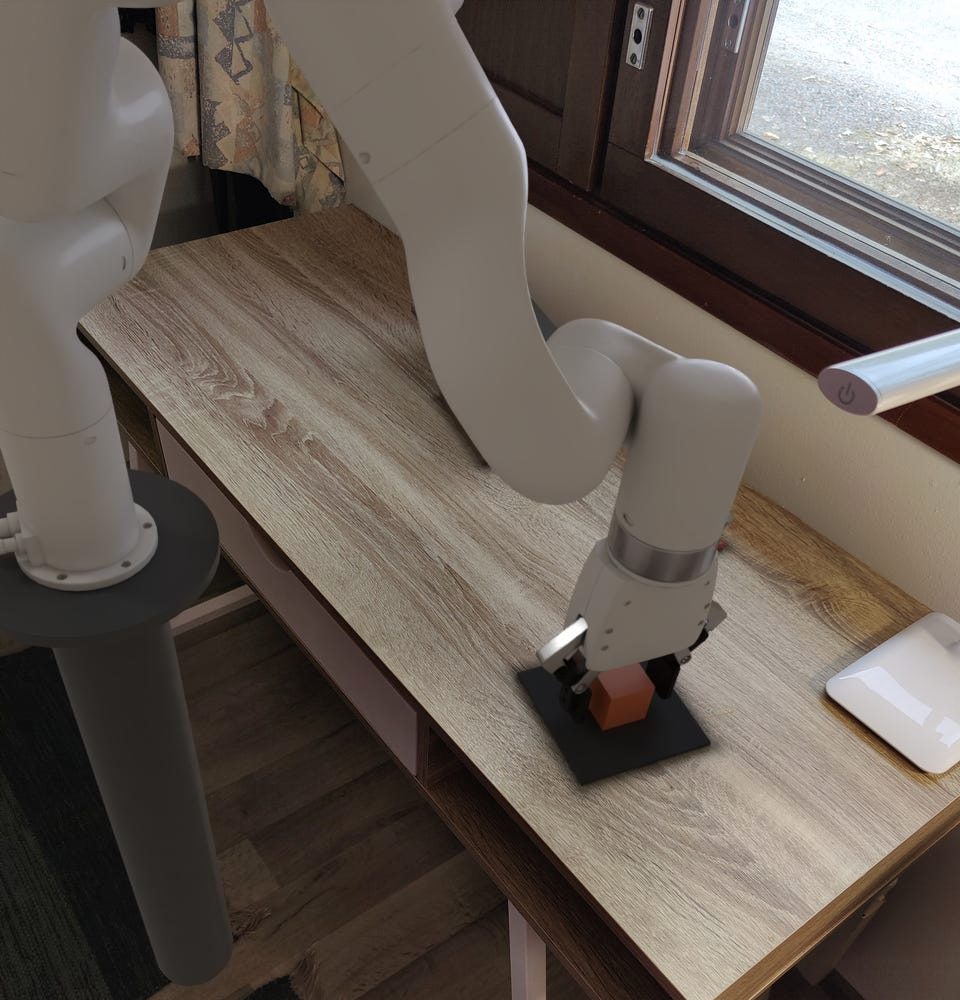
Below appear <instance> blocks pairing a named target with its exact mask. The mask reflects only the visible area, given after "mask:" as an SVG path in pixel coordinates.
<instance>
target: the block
mask: <svg viewBox="0 0 960 1000" xmlns="http://www.w3.org/2000/svg"><path fill="white" fill-rule="evenodd" d="M589 687H590V689H591V691H592V697H591V701H590V705H589V709H590V711H591V712H592V714H593V716H594V717H595V719H596V720H597V722H598V724H599V725H600V727H601V729H602V730H606V729H610V728H613V727H617V726H620V725H623V724H627V723H630V722H634V721H637V720H640V719H644V718H645V716H646V713H647V710H648V707H649V704H650V701H651V698H652V696H653V693H654V690H655V686H654V685H653V683H652V682H651V680H650V679H649V677H648V676H647V674H646V673H645V671H644V670H643V668H642V667H641V666H640V664H639V663H635V664H632V665H628V666H624V667H620V668H616V669H612V670H608V671H602V672H601V673H600V674H599V675H598V677H597V678H596V679H595V680H594V681H593V682H592V684H591V685H590V686H589Z"/></svg>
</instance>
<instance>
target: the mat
mask: <svg viewBox="0 0 960 1000" xmlns="http://www.w3.org/2000/svg"><path fill="white" fill-rule="evenodd" d="M648 661H649V660H646V661H643V662H639V664H640V666H641V667H642V668H643V670H644V671H645V670H646V667H647V664H648ZM585 664H586V660H585V659H584V657H583V658H582V660H581V661H580V662H579V663H578V665H577V666H579V668H580V669H581V671H583V670H584V669H585V668H586V666H585ZM516 676H517V677H518V680H519V681H520V683H521V684H522V686H523V688H524V690H525V691H526V693H527V695H528V697H529V698H530V700H531V702H532V704H533V705H534V707H535V709H536V711H537V712H538V714H539V716H540V718H541V719H542V721H543V723H544V724H545V726H546V728H547V730H548V732H549V733H550V735H551V737H552V739H553V740H554V742H555V743H556V745H557V748H558V749H559V751H560V753H561V754H562V756H563V758H564V759H565V761H566V763H567V765H568V767H569V768H570V770H571V772H572V774H573V775H574V777H575V779H576V780H577V782H578V784H579V786H585V785H587V784H591V783H595V782H597V781H600V780H604V779H607V778H610V777H613V776H616V775H620V774H623V773H626V772H629V771H633V770H636V769H639V768H642V767H645V766H648V765H652V764H655V763H659V762H661V761H665V760H667V759H671V758H674V757H677V756H680V755H683V754H687V753H689V752H693V751H697V750H700V749H702V748H706V747H709V746H711V745H712V742H711V739H709V737H708V736H707V734H706V733H705V731H704V730H703V728H702V727H701V725H699V723H698V721H697V720H696V719H695V717H694V716H693V714H692V713H691V711H690V709H688V707H687V706H686V704H685V703H684V702H683V699H681V697H680V696H679V694H678V692H676V690H675V688H674V689H673V691H672V694H671V697H670V698H668V699H665V700H663V699H661V698H660V697H659V696H658V694H657V693H656V691H655V690H654V693H653V696H652V698H651V701H650V704H649V707H648V710H647V713H646V716H645V718H644V719H640V720H637V721H634V722H630V723H627V724H623V725H620V726H617V727H613V728H610V729H606V730H602V729H601V727H600V725H599V724H598V722H597V720H596V719H595V717H594V716H593V714H592V712H591V711H590V709H589V708H588V712H587V716H586V719H585V721H584V723H582V724H579V725H576V724H575V722H574V720H573V719H572V717H571V715H570V714H569V712H565V711H564V710H563V708H562V707H561V705H560V702H559V694H560V690H561V685H562V683H561V682H559V681H558V680H557V679H556V678H555V676H553V675H551V674H550V673H549V672H548V671H547V670H546V669H544V668H543V667H542V665H540V666H537V667H533V668H529V669H525V670H522V671H517V673H516Z"/></svg>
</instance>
